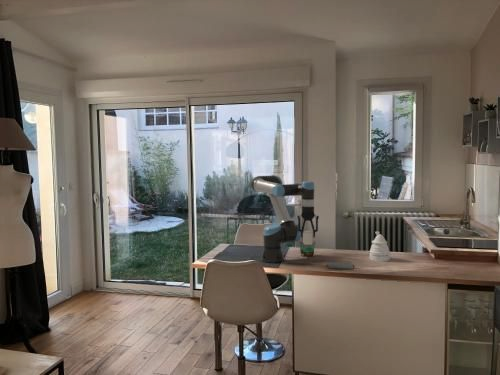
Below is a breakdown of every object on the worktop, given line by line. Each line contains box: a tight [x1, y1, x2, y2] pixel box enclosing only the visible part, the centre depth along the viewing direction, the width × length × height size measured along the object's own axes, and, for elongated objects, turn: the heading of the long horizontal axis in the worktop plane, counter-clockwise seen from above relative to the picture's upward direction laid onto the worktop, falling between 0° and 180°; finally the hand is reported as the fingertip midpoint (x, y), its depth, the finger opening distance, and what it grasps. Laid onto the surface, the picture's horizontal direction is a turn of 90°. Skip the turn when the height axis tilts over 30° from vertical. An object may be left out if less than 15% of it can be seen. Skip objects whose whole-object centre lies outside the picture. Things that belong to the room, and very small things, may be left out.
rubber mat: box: [327, 262, 354, 270], centre depth 264 cm, size 15×13×1 cm
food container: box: [298, 240, 316, 258], centre depth 291 cm, size 12×6×10 cm, turn 112°
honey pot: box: [369, 231, 391, 262], centre depth 281 cm, size 13×13×18 cm
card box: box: [303, 230, 313, 245], centre depth 266 cm, size 5×9×7 cm, turn 171°
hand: (308, 242), depth 266 cm, fingers closed on card box, 5 cm apart
